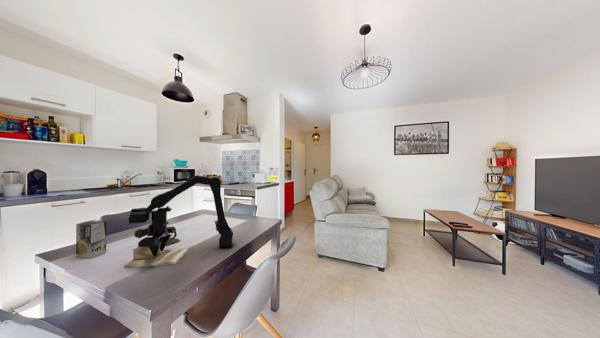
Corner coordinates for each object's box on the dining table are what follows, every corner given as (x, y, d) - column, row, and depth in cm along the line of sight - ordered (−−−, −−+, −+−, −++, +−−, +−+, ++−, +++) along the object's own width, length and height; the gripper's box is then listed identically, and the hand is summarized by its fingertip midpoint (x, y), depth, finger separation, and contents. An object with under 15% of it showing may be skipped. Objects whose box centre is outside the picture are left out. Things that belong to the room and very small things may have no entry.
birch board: (187, 250, 92) (187, 248, 92) (175, 264, 79) (175, 261, 79) (144, 253, 88) (144, 251, 88) (123, 267, 76) (123, 265, 76)
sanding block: (159, 253, 86) (159, 243, 86) (153, 258, 81) (153, 248, 81) (140, 255, 85) (141, 244, 85) (133, 260, 80) (133, 249, 80)
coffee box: (107, 252, 89) (107, 220, 89) (90, 258, 83) (91, 224, 83) (92, 250, 90) (93, 219, 90) (74, 257, 84) (75, 223, 84)
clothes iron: (181, 241, 105) (179, 227, 102) (162, 254, 94) (159, 238, 92) (172, 239, 107) (170, 224, 104) (152, 251, 96) (149, 235, 94)
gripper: (152, 216, 92) (151, 246, 91) (123, 228, 73) (123, 265, 73) (176, 215, 94) (175, 244, 94) (154, 227, 75) (153, 263, 75)
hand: (158, 253), depth 84 cm, fingers closed on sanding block, 5 cm apart
